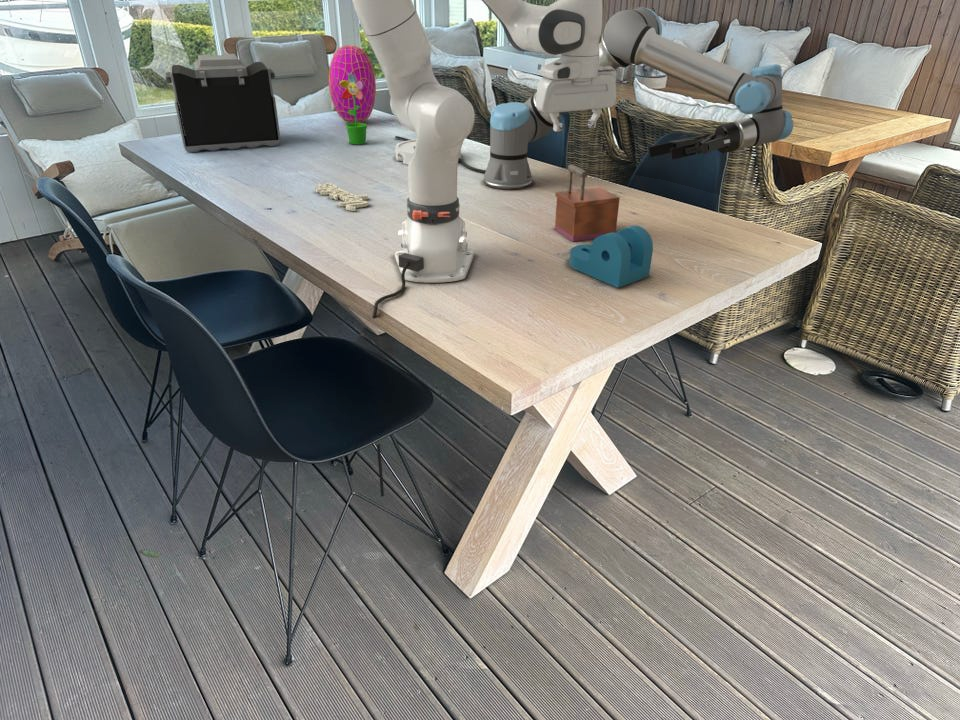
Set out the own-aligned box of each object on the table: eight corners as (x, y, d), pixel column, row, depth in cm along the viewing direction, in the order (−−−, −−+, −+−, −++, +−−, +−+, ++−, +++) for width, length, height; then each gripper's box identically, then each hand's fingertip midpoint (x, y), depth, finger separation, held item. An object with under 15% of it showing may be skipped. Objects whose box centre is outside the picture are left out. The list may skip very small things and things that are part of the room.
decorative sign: (381, 201, 196) (350, 208, 191) (381, 205, 197) (350, 211, 192) (338, 180, 214) (308, 186, 209) (338, 183, 215) (308, 189, 209)
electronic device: (278, 133, 274) (267, 51, 259) (285, 146, 256) (274, 59, 241) (180, 140, 262) (162, 54, 247) (180, 153, 244) (161, 62, 229)
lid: (574, 207, 169) (576, 174, 165) (555, 196, 177) (557, 164, 173) (619, 201, 174) (623, 168, 170) (599, 190, 181) (602, 159, 177)
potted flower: (342, 144, 260) (336, 73, 247) (351, 139, 266) (346, 70, 254) (365, 146, 257) (360, 74, 245) (374, 141, 264) (369, 71, 251)
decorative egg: (362, 116, 305) (357, 42, 290) (386, 123, 292) (382, 46, 277) (324, 121, 294) (316, 45, 279) (347, 129, 281) (340, 49, 266)
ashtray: (454, 167, 232) (454, 155, 230) (388, 164, 235) (387, 152, 233) (466, 151, 252) (466, 140, 250) (404, 148, 255) (404, 137, 253)
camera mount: (649, 276, 155) (655, 231, 150) (618, 287, 149) (623, 242, 144) (590, 252, 167) (594, 210, 162) (559, 262, 161) (562, 219, 156)
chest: (573, 241, 174) (575, 207, 169) (554, 229, 182) (556, 196, 177) (615, 235, 178) (619, 201, 174) (595, 223, 186) (599, 190, 182)
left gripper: (609, 63, 165) (604, 123, 172) (534, 68, 158) (531, 130, 165) (624, 67, 160) (618, 128, 167) (547, 72, 153) (544, 135, 160)
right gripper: (761, 152, 173) (682, 170, 170) (712, 149, 196) (642, 165, 194) (759, 121, 170) (679, 139, 168) (709, 121, 193) (639, 137, 191)
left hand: (574, 129), depth 166 cm, fingers open, 8 cm apart
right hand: (659, 153), depth 181 cm, fingers open, 13 cm apart
